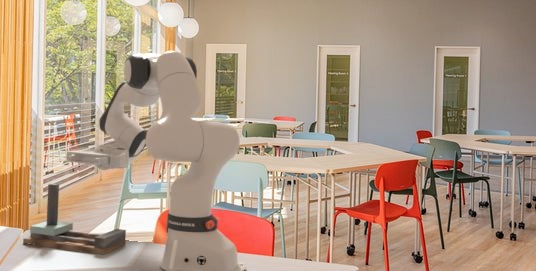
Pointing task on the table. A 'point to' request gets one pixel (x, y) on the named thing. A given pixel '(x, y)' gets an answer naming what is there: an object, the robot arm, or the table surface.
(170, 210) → the robot arm
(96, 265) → the table surface
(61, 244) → the rail board
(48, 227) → the carriage
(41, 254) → the table surface
